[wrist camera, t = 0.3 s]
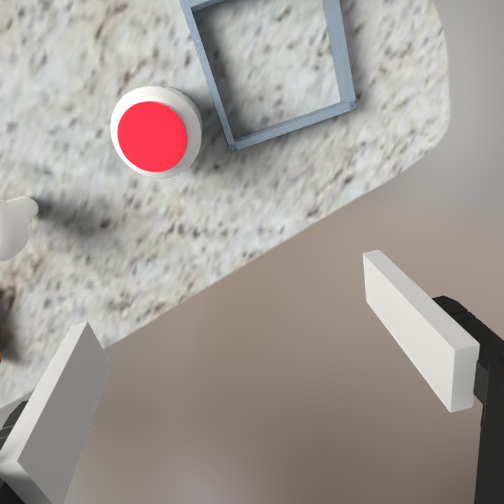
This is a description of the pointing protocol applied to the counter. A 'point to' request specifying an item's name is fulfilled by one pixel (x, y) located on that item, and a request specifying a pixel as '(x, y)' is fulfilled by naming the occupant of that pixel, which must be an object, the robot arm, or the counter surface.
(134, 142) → the pill bottle
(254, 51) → the counter surface
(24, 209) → the lightbulb
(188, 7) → the frame
